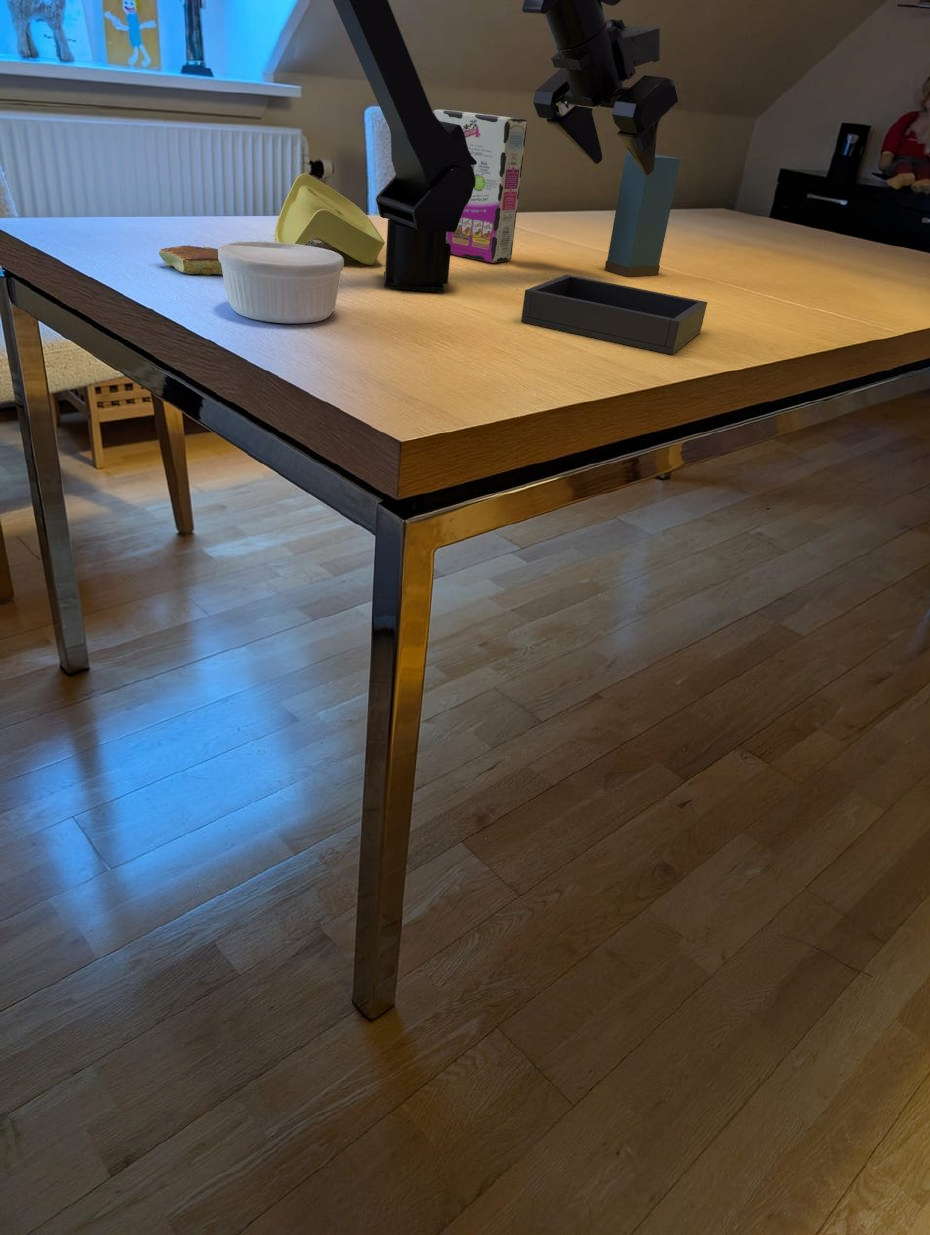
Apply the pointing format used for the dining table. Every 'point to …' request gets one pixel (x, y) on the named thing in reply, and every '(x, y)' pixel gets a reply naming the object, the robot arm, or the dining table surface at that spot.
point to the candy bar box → (489, 185)
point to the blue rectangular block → (642, 217)
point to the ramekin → (280, 280)
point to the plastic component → (327, 221)
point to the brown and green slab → (192, 259)
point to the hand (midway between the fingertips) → (623, 167)
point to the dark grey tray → (614, 313)
